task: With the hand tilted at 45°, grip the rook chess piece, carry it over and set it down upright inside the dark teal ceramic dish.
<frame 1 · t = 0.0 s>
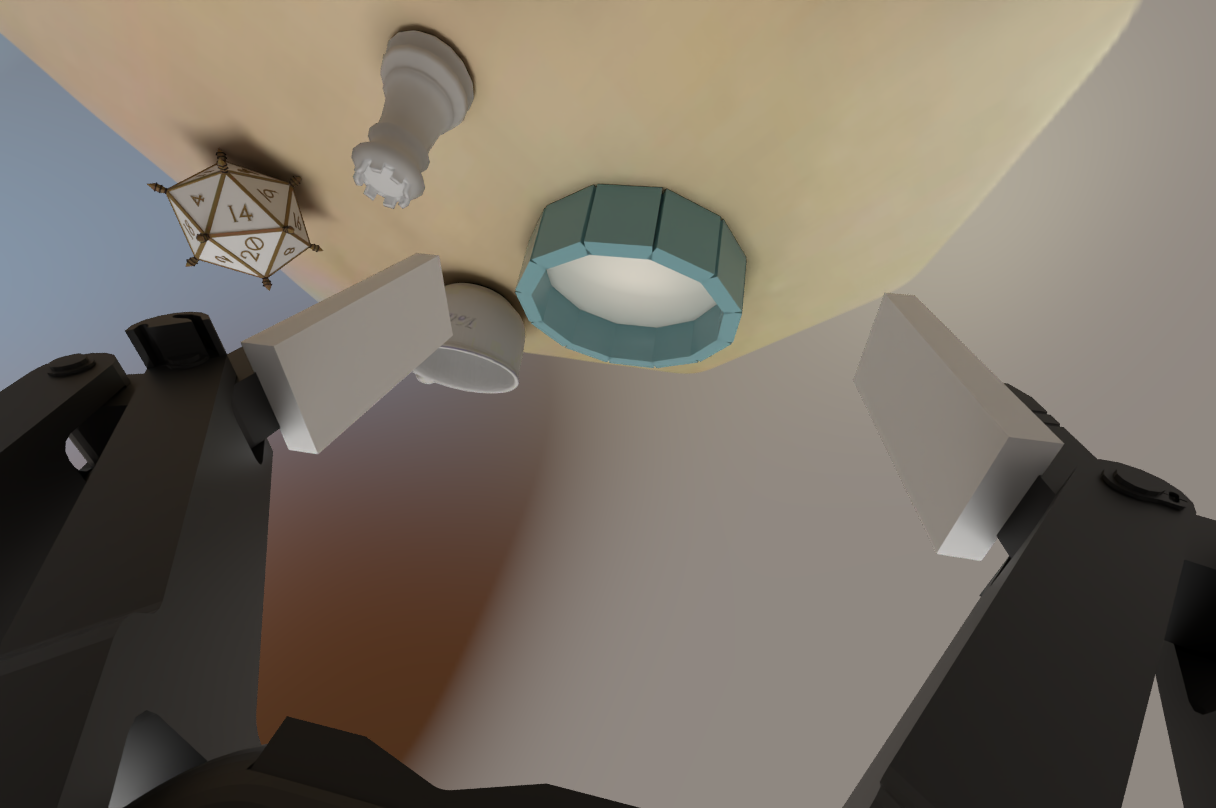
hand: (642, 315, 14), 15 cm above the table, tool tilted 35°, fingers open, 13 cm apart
game die: (269, 176, 34), on the table
dish: (635, 268, 37), on the table
rook chess piece: (434, 68, 24), on the table
teacup: (471, 303, 47), on the table
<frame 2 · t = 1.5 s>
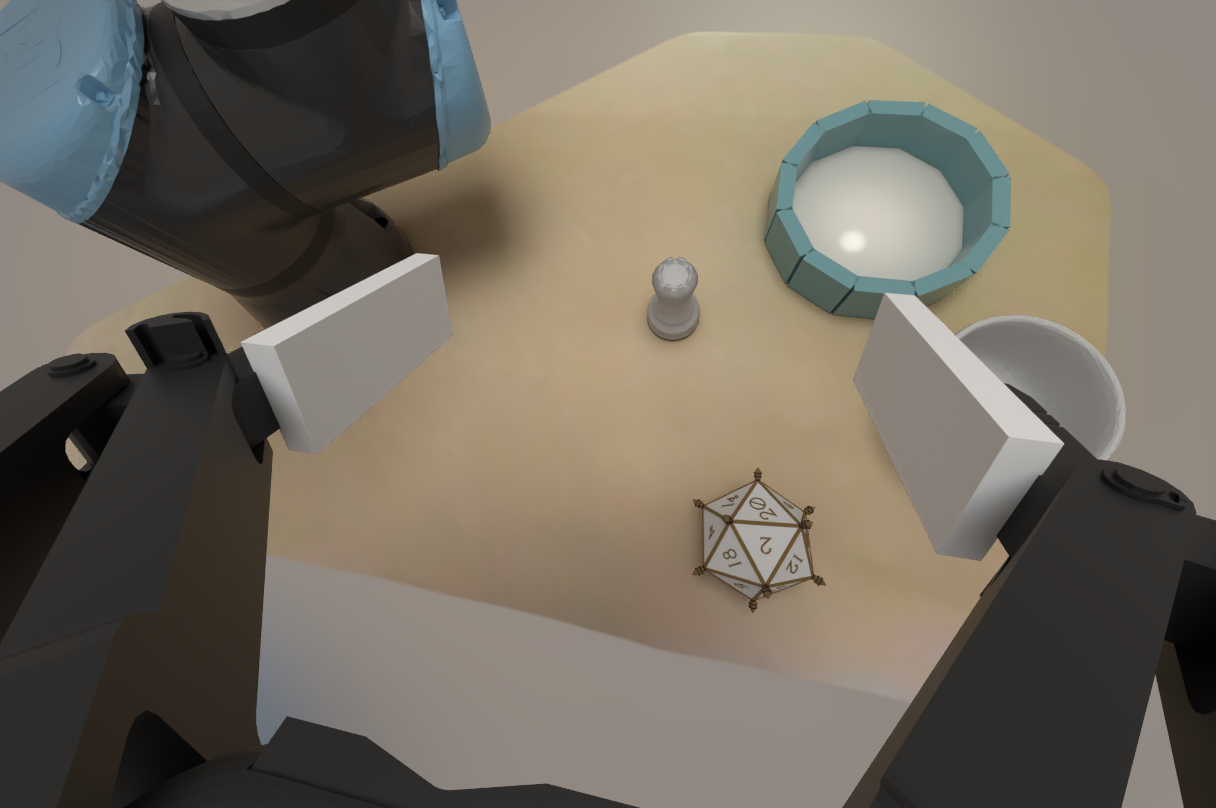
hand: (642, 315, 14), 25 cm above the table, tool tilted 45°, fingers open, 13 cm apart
game die: (745, 535, 36), on the table
dish: (865, 227, 40), on the table
rook chess piece: (673, 318, 40), on the table
teacup: (960, 438, 36), on the table
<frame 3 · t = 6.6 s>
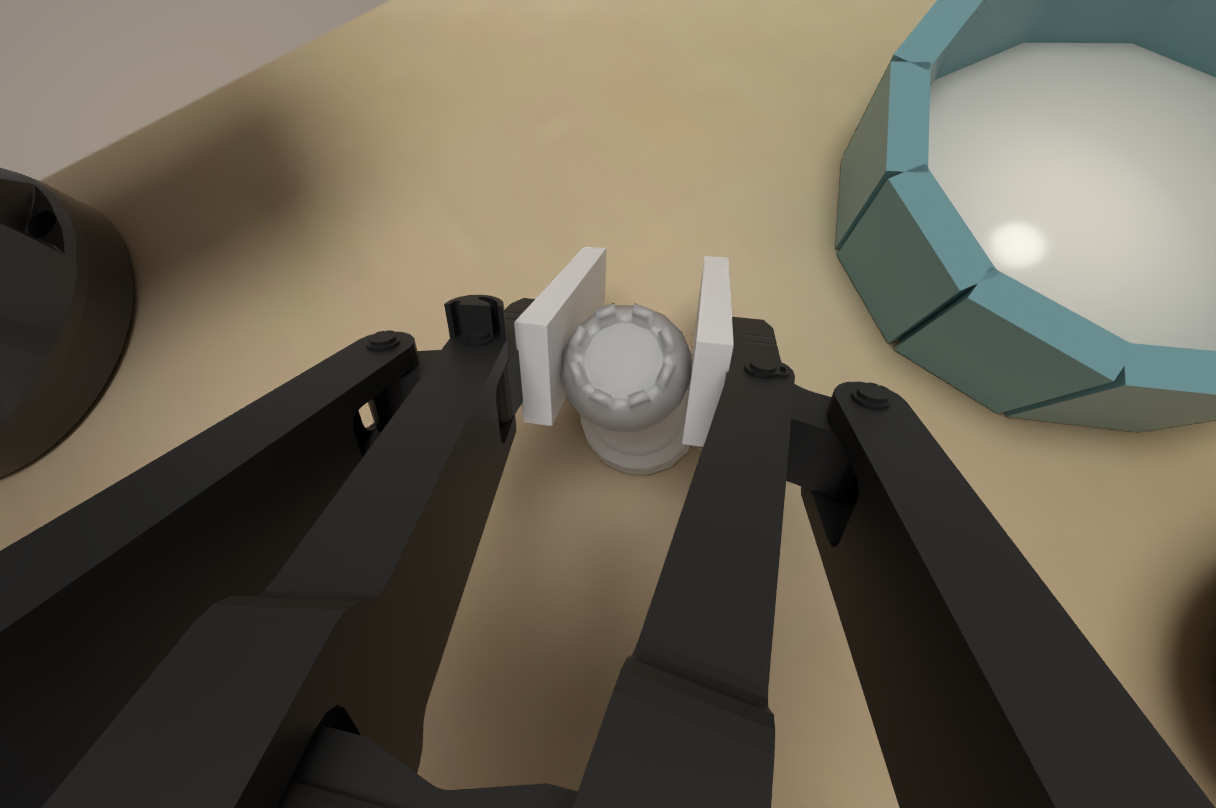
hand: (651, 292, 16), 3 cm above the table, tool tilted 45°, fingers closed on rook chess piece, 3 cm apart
dish: (1062, 216, 18), on the table
rook chess piece: (640, 419, 19), on the table, touching gripper
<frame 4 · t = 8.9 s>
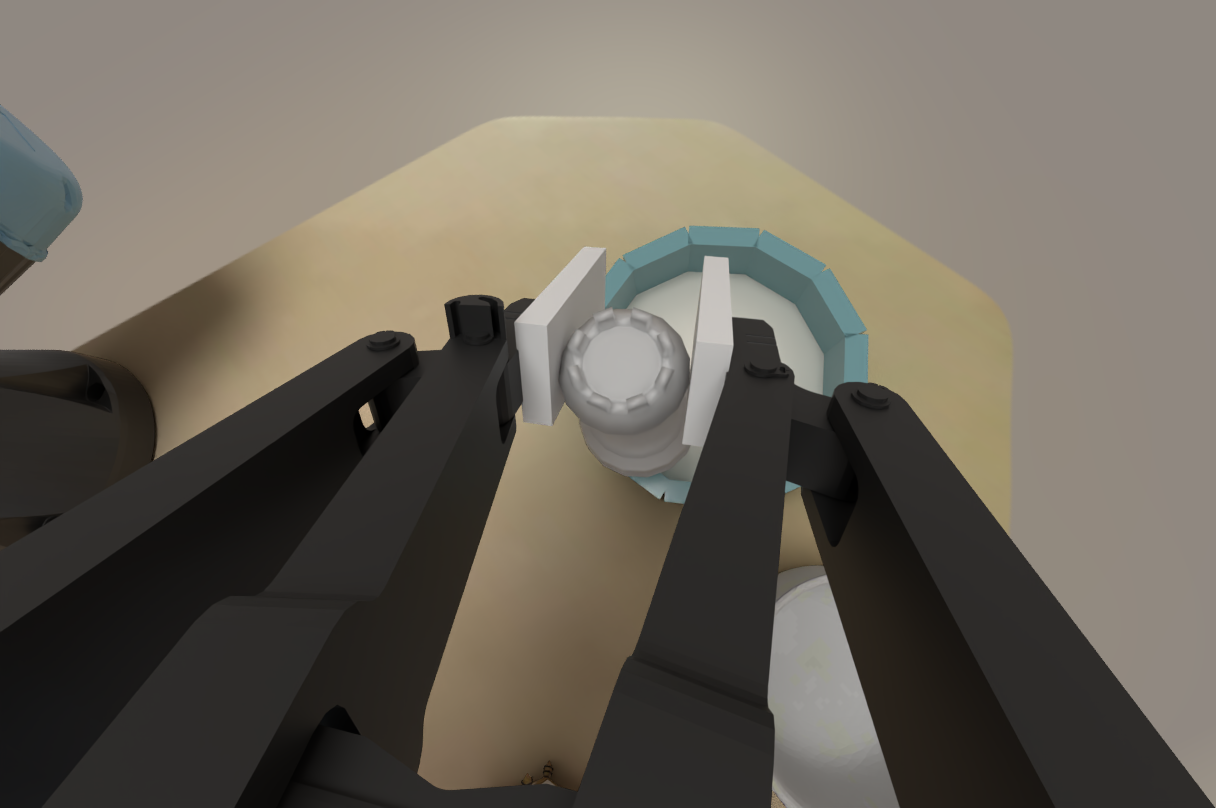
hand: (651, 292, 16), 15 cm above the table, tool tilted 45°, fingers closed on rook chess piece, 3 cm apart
dish: (706, 378, 31), on the table
rook chess piece: (639, 421, 19), point 12 cm above the table, touching gripper
teacup: (824, 675, 27), on the table
when the fingers open (6 cm above the table, at t = 11.3 s): rook chess piece drops 1 cm, resting on dish.
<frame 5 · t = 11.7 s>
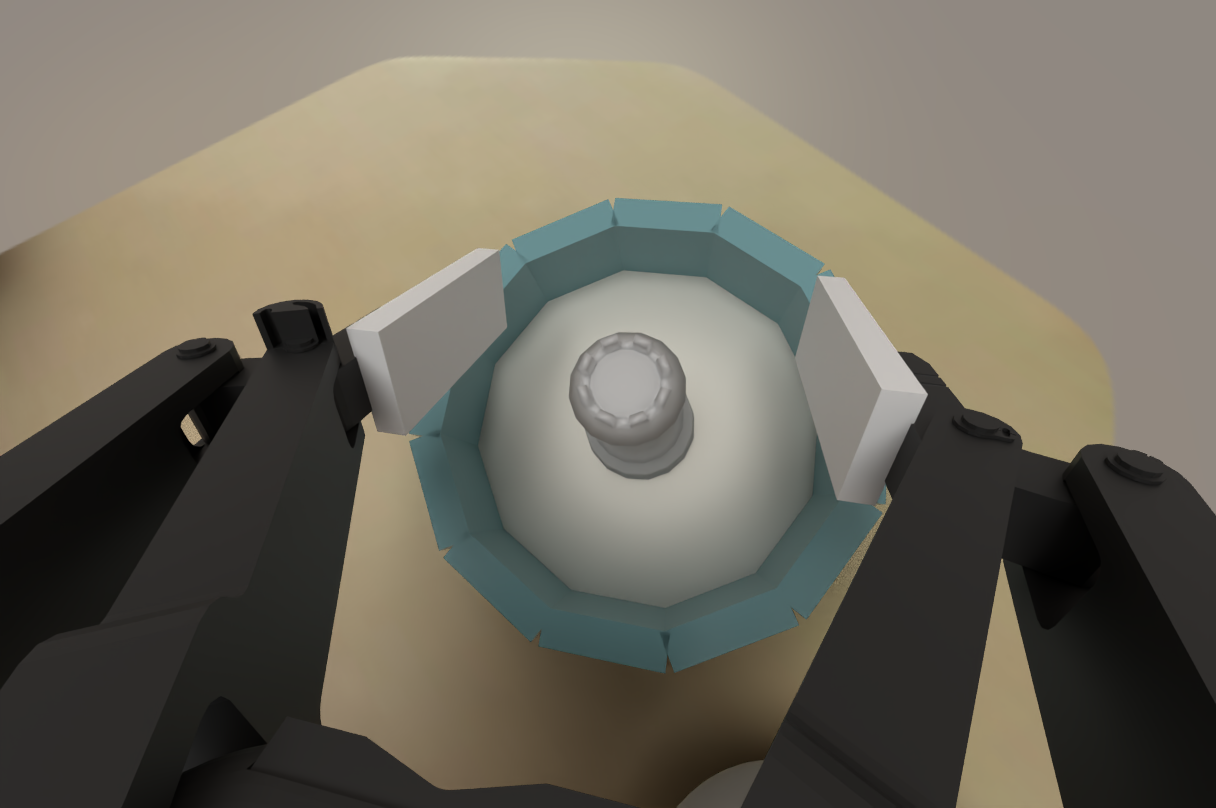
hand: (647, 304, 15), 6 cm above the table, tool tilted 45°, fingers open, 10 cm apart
dish: (643, 428, 21), on the table
rook chess piece: (640, 427, 20), point 1 cm above the table, touching dish
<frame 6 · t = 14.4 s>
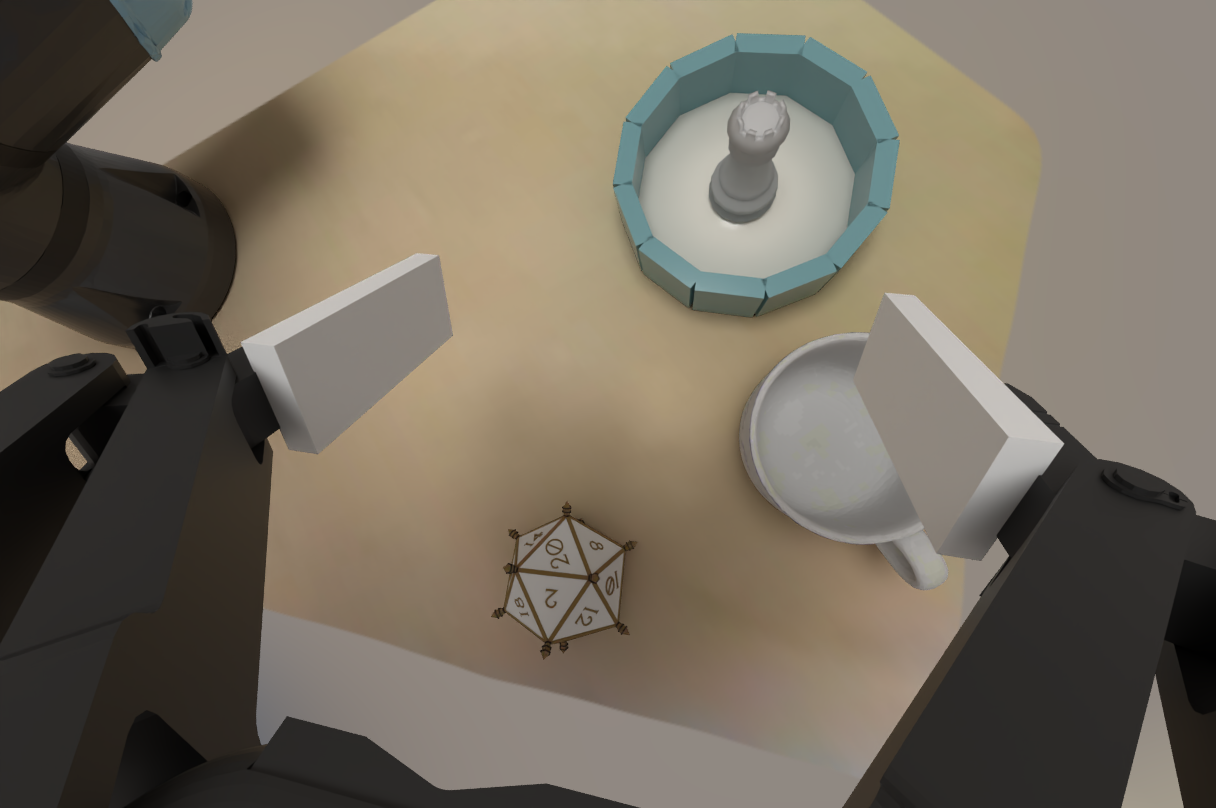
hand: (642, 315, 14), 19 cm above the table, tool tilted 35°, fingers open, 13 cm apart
game die: (579, 561, 33), on the table
dish: (740, 199, 33), on the table
rook chess piece: (740, 195, 32), point 1 cm above the table, touching dish
teacup: (822, 459, 31), on the table
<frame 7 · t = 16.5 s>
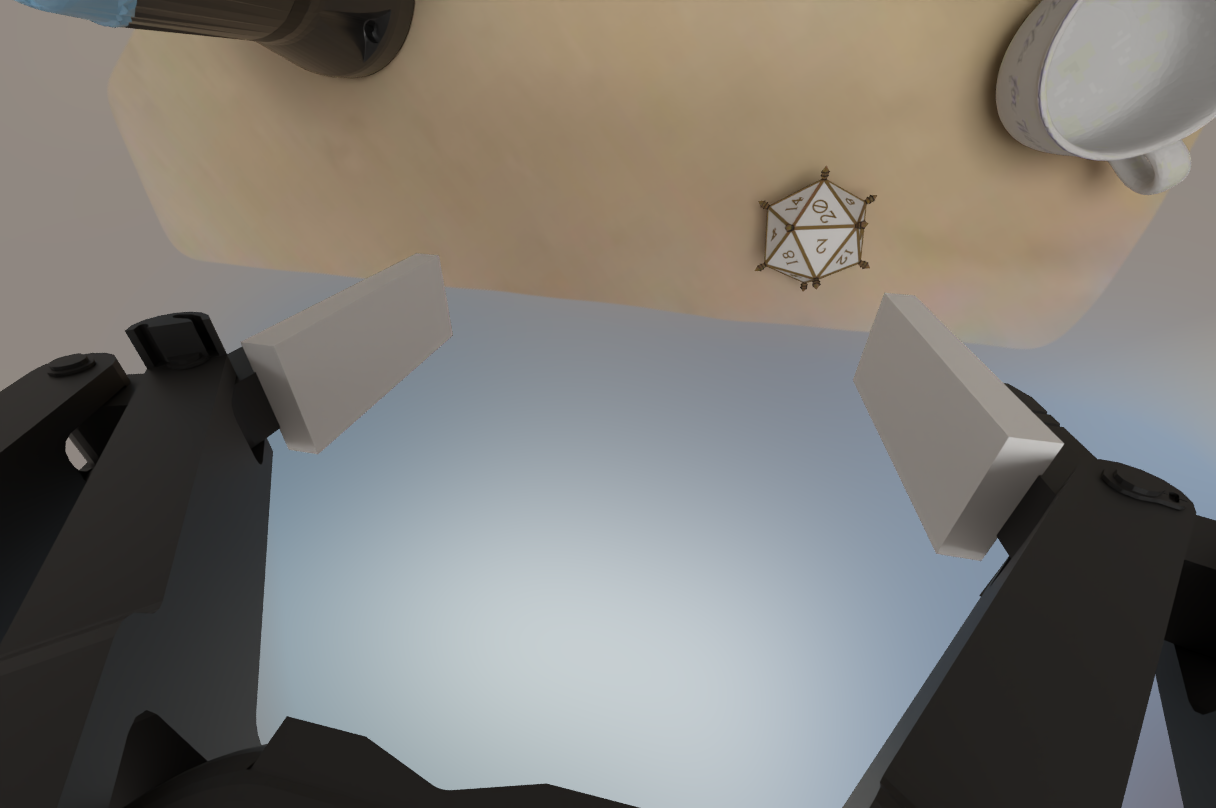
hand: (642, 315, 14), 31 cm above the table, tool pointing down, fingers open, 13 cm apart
game die: (805, 222, 40), on the table
teacup: (1070, 85, 32), on the table
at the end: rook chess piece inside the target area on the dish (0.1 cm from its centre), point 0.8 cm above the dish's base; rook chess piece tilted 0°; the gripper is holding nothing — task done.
